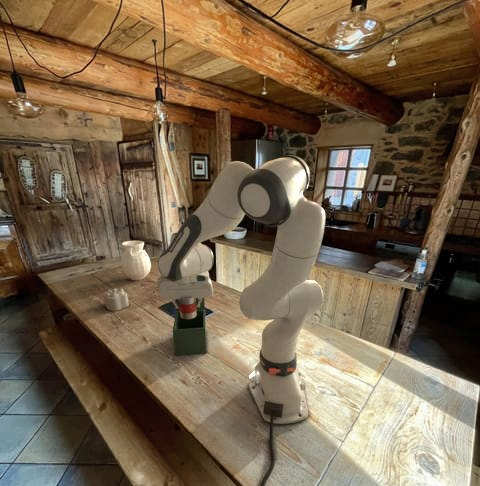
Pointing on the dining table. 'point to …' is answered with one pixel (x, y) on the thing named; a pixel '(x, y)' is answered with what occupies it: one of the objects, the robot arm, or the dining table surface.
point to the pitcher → (135, 260)
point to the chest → (190, 334)
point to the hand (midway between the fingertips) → (188, 307)
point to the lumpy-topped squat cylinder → (116, 299)
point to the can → (187, 307)
